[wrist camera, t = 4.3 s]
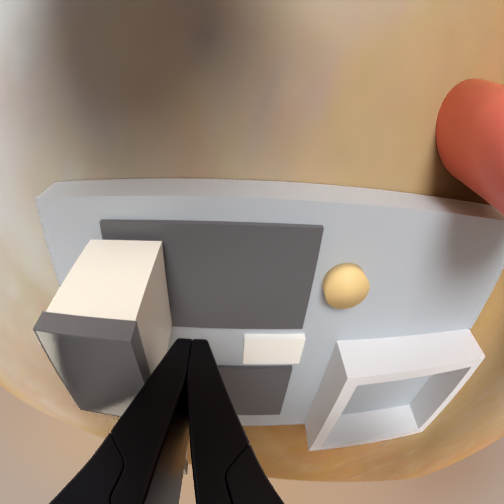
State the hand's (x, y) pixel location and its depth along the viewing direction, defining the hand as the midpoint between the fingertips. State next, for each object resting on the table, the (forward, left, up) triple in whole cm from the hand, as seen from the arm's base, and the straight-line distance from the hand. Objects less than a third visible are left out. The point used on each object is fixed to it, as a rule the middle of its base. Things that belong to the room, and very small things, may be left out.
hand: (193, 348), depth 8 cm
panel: (-4, +4, -5) cm, 7 cm away
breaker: (+2, 0, -3) cm, 3 cm away
